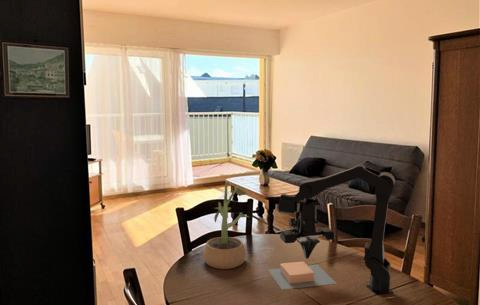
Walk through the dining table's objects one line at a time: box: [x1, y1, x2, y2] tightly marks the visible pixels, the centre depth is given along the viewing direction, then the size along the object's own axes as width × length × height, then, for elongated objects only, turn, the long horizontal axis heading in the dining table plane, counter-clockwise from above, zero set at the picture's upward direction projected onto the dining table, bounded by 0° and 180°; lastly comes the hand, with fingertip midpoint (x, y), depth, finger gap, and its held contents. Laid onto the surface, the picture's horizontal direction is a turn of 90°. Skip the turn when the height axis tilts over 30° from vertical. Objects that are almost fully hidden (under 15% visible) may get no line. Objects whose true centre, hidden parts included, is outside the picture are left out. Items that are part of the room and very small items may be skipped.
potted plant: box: [202, 182, 250, 270], centre depth 155 cm, size 22×18×30 cm
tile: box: [279, 261, 315, 284], centre depth 140 cm, size 10×3×9 cm
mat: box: [267, 264, 338, 290], centre depth 141 cm, size 16×20×1 cm
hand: (306, 258), depth 140 cm, fingers closed
